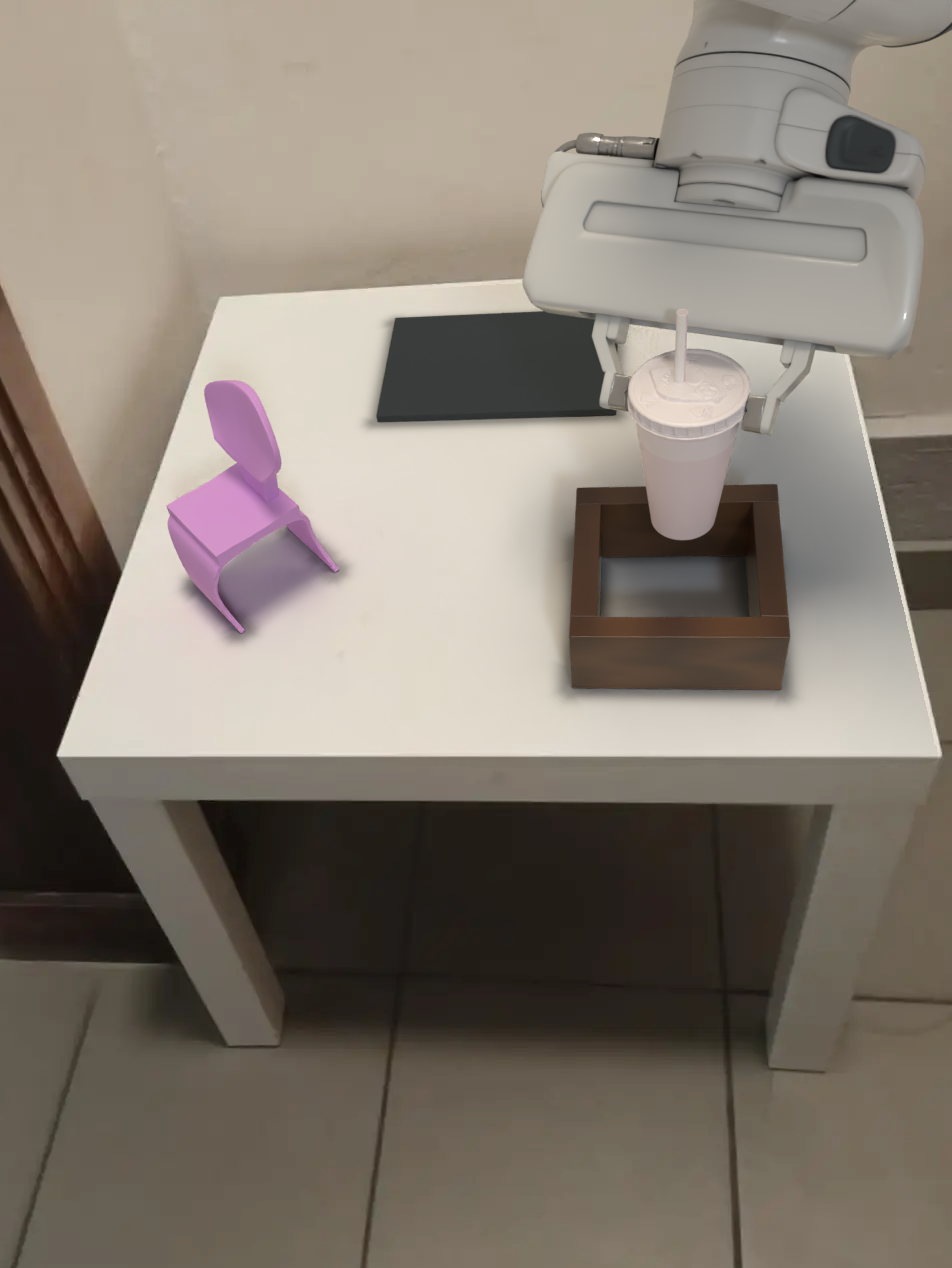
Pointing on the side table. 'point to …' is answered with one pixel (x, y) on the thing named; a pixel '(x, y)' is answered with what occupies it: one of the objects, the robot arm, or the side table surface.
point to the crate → (679, 644)
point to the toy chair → (235, 494)
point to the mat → (491, 368)
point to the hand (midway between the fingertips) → (684, 421)
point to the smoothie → (686, 431)
